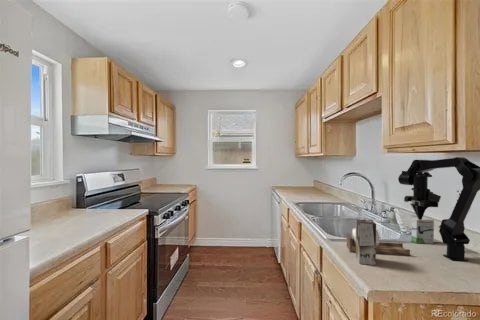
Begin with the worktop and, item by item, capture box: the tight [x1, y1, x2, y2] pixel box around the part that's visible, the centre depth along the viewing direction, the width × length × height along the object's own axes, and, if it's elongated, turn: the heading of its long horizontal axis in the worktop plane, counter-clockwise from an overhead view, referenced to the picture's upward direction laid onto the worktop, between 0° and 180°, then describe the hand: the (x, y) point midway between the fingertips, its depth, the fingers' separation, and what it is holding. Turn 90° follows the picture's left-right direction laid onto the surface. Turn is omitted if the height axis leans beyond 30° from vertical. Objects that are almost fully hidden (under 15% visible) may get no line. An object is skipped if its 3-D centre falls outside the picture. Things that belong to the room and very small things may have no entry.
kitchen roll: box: [351, 228, 380, 248], centre depth 140 cm, size 10×8×8 cm
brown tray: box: [346, 232, 411, 257], centre depth 139 cm, size 24×11×6 cm, turn 78°
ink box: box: [411, 217, 435, 245], centre depth 153 cm, size 9×5×12 cm, turn 88°
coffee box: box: [355, 219, 377, 266], centre depth 125 cm, size 9×6×16 cm
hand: (420, 219), depth 145 cm, fingers closed
